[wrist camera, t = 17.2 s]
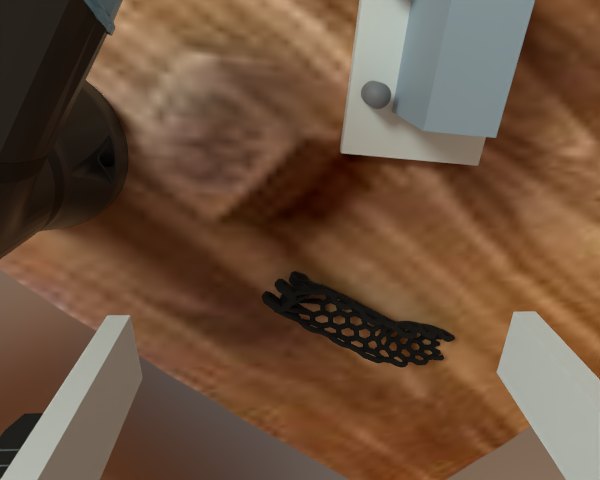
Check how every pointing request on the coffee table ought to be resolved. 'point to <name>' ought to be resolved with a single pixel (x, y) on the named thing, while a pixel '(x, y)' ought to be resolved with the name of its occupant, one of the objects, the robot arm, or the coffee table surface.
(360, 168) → the coffee table surface
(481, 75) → the slate block
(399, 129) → the pegboard
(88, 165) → the robot arm
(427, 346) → the decorative element
